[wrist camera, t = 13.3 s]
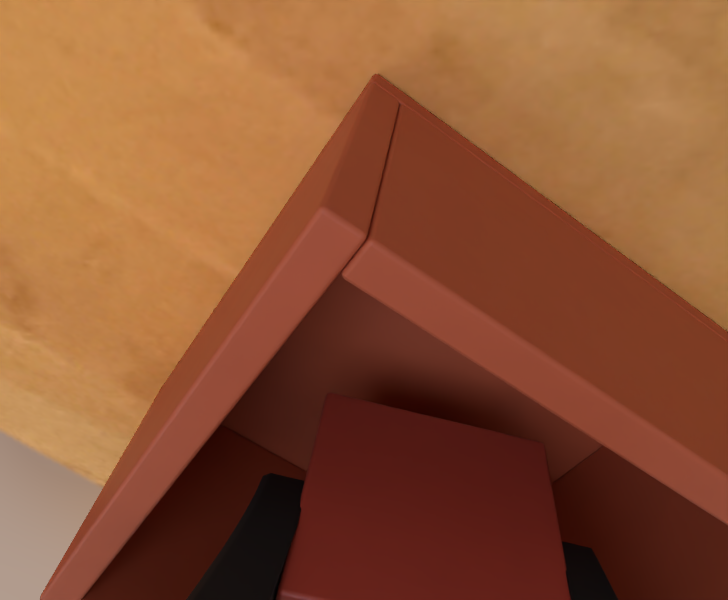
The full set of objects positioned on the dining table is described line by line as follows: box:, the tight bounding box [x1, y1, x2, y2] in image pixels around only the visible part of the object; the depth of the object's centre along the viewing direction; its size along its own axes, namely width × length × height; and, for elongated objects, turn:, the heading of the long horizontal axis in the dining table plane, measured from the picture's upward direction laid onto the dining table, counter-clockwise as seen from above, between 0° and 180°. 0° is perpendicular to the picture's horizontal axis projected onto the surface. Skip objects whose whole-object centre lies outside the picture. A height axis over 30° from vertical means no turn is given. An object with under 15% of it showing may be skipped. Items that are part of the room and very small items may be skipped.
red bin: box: [40, 74, 728, 600], centre depth 12 cm, size 9×9×6 cm
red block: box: [275, 393, 571, 600], centre depth 11 cm, size 4×4×4 cm
